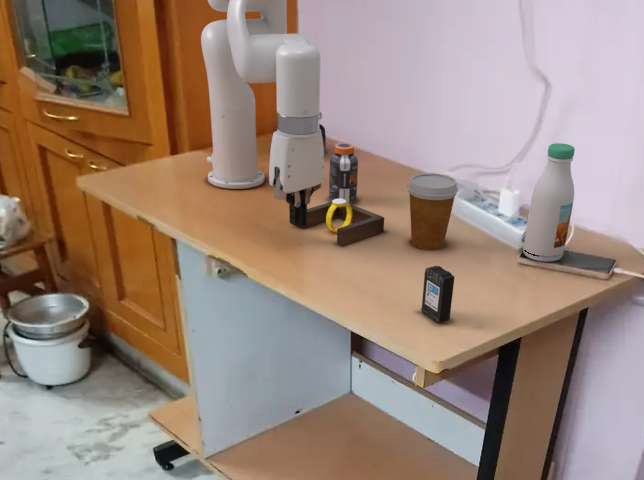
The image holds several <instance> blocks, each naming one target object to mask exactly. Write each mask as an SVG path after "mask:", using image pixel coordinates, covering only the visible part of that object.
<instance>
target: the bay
mask: <svg viewBox="0 0 644 480" xmlns="http://www.w3.org/2000/svg"><path fill="white" fill-rule="evenodd" d="M346 203H347V202H346ZM348 204H349V203H348ZM331 205H332V201H330V202H326V203H323V204H319V205H316V206H312V207H310V208H307V225H306V226H302V227H301V228H300V229H302V230H303V229H305V228H309V227H312V226H316V225H319V224H322V223H326V215H327V212H328V209H329V208H330V206H331ZM350 206H351V208H352V214H353V216H352V220H351V223H350V225H347V226H344V227H341V228H338V227H337V228H338V229H337V233H336V245H338V246H341V247H344V246H346V245H349V244H352V243H355V242H359V241H362V240H364V239H367V238H371V237H373V236H377V235H379V234H382V233H384V231H385V216H382V215H380V214H377V213H375V212H372V211H370V210H367V209H364V208H362V207H359V206H357V205H354V204H353V203H350ZM346 216H347V208H346V207H345V206H343V207H337V208H336V210H335V211H334V213H333V216H332V220H335V219H341V220H344V221H346Z"/></svg>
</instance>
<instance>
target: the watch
mask: <svg viewBox="0 0 644 480" xmlns="http://www.w3.org/2000/svg"><path fill="white" fill-rule="evenodd" d="M331 202H332V205H331V206H330V208H329V209H328V212H327V215H326V221H325V224H326V226H327V228H328V230H329V231H331V232H333V233H334V234H337V229H338V228H341V227H344V226H347V225H350V224H352V223H351V220H352V216H353V214H352V208H351V206H350V204H351V203H350V204H348V203H346V200H344V199H334V200H333V201H331ZM343 206H345V207H346V208H347V216H346V220H344V221H343V223H342V225H340V226H339V227H336V228H334V226H333V224H332V223H333V219H332V216H333V213H334V211H335V210H336V208H337V207H343Z"/></svg>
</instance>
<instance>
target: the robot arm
mask: <svg viewBox="0 0 644 480" xmlns="http://www.w3.org/2000/svg"><path fill="white" fill-rule="evenodd" d="M207 2H208V4H209V6H210V7H211V8H212V9H213V10H215V11H216V12H220V13H221V12H222V13H226V19H219V20H215V21H212V22H210V23H208V24H207V25H205V26H204V27H203V29H202V32H201V34H200V46H201V51H202V56H203V61H204V65H205V71H206V77H207V86H208V95H209V96H208V97H209V109H210V110H209V111H210V123H211V125H210V126H211V140H212V141H211V142H212V154H211V156H207V158H206V162H207V163H209V164H211V167H212V170H211V171H209V172H208V174H207V181H208V183H209V184H211V185H212V186H215V187H217V188H221V189H228V190H243V189H251V188H255V187H259V186H260V185H263V184H264V182H265V178H266V175H265V173H264V172H263V171H261V170H259V169H258V147H257V145H258V144H257V118H256V97H255V94H254V91H253V89H252V88H251V86H250V84H269V83H271V84H272V83H276V87H275V88H276V90H275V91H276V125H277V131H276V130H275V131H274V132H273V134H272V138H271V143H270V151H269V164H268V165H269V167H268V179H269V180H268V181H269V186H270V187H271V188H274V192H273V193H274V194H273V197H274V198H275V199H277V200H279V201H285V203H286V204H287V205H288V206H289V207H288V208H289V209H288V210H289V213H288V214H289V220H288V221H289V224H290V225H292V226H295V227H297V228H298V229H299V228H300V229H302V228H301V227H302V226H306V225H307V209H308V205H309V204H310V202H311V197H312V196H313V194H314V192H317V191H318V190H319V189H321V188H322V183H323V181H324V177H325V152H324V148H323V139H322V133H321V130H320V129H319V124H320V120H322V118H323V114H322V112H321V105H320V103H321V53H320V50H319V49H318V48H317V47H316V46H314V45H312V44H311V42H310V40H309V39H308V38H307V37H306V36H305V35H303V34H300V33H288V21H287V16H288V15H287V14H288V11H287V10H288V9H287V7H288V6H287V4H288V3H287V2H288V1H287V0H207ZM246 13H260V18H246Z"/></svg>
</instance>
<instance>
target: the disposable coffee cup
mask: <svg viewBox="0 0 644 480" xmlns="http://www.w3.org/2000/svg"><path fill="white" fill-rule="evenodd" d="M409 179H410V180H409V183H407V186H406V187H407V190H408V193H409V210H410V211H409V213H410V214H409V215H410V233H411V234H410V235H411V245H413V246H414V247H416V248H419V249H423V250H437V249H441V248H442V247H444V245H445V242H446V241H445V240H446V236H447V232H448V227H449V223H450V219H451V216H452V215H451V214H452V211H453V205H454V203H455V202H454V201H455V197H456V195H457V193H458V192H459V187H458V184H457V180H456V179H455V178H454V177H451V176H449V175H446V174H441V173H433V172H432V173H431V172H429V173H428V172H427V173H426V172H425V173H419V174H418V173H417V174H415V175H413V176H411V177H410V178H409Z"/></svg>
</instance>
